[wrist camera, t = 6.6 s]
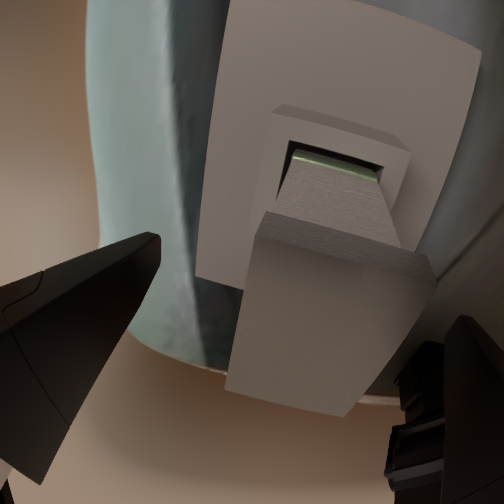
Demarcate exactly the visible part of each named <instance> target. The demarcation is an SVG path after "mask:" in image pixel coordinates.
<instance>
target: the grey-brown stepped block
mask: <svg viewBox="0 0 504 504" xmlns="http://www.w3.org/2000/svg"><path fill="white" fill-rule="evenodd" d="M437 286H438V284H437V281H436V278H435V276H434V273H433V271H432V268H431V266H430V263H429V261H428V258H427V256H424V255H421V254H418V253H415V252H411V251H408V250H405V249H402V248H401V245H400V242H399V239H398V236H397V233H396V230H395V227H394V225H393V222H392V219H391V216H390V213H389V211H388V208H387V205H386V203H385V200H384V197H383V195H382V192H381V190H380V187H379V185H378V178H377V176H376V173H375V172H373V170H371V169H368V168H365V167H361V166H358V165H355V164H351V163H348V162H345V161H341V160H338V159H334V158H331V157H327V156H323V155H320V154H316V153H312V152H308V151H304V150H300V149H296V150H295V151H294V153H293V156H292V160H291V164H290V167H289V169H288V172H287V174H286V177H285V179H284V182H283V184H282V187H281V189H280V192H279V194H278V197H277V199H276V202H275V204H274V207H273V209H272V212H269V211H265V214H264V216H263V218H262V220H261V223H260V225H259V227H258V229H257V232H256V234H255V238H254V243H253V248H252V253H251V258H250V263H249V268H248V273H247V278H246V283H245V288H244V293H243V298H242V303H241V308H240V313H239V318H238V323H237V328H236V333H235V338H234V343H233V348H232V353H231V358H230V363H229V368H228V373H227V379H226V383H225V388H224V389H225V390H228V391H232V392H235V393H239V394H242V395H246V396H250V397H254V398H257V399H261V400H265V401H269V402H273V403H277V404H281V405H285V406H290V407H295V408H299V409H304V410H308V411H313V412H318V413H323V414H329V415H334V416H339V417H345V415H346V414H347V413H348V412H349V411H350V410H351V409H352V407H353V406H354V405H355V404H356V403H357V401H358V400H359V399H360V398H361V397H362V395H363V394H364V393H365V392H366V390H367V389H368V388H369V387H370V385H371V384H372V383H373V381H374V380H375V379H376V378H377V376H378V375H379V374H380V372H381V371H382V370H383V368H384V367H385V366H386V364H387V363H388V362H389V360H390V359H391V357H392V356H393V355H394V353H395V352H396V350H397V349H398V348H399V346H400V345H401V343H402V342H403V340H404V339H405V337H406V336H407V334H408V333H409V331H410V330H411V328H412V327H413V325H414V324H415V322H416V321H417V319H418V318H419V316H420V314H421V313H422V311H423V310H424V308H425V306H426V305H427V303H428V302H429V300H430V298H431V297H432V295H433V293H434V292H435V290H436V288H437Z"/></svg>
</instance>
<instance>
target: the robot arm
mask: <svg viewBox="0 0 504 504" xmlns="http://www.w3.org/2000/svg"><path fill="white" fill-rule="evenodd" d="M160 263H161V237H160V236H159V235H158V234H155V233H151V232H144V233H141V234H138V235H135V236H133V237H130V238H127V239H124V240H121V241H119V242H116V243H113V244H110V245H108V246H105V247H102V248H100V249H97V250H94V251H92V252H89V253H86V254H84V255H81V256H78V257H76V258H73V259H70V260H68V261H65V262H63V263H60V264H58V265H55V266H53V267H50V268H48V269H45V271H40V272H38V273H35V274H33V275H30V276H28V277H25V278H23V279H20V280H18V281H15V282H12V283H9V284H6V285H3V286H1V287H0V504H14V501H13V497H12V494H11V490H10V487H9V483H8V479H7V477H8V475H9V473H10V472H11V470H12V468H15V469H16V470H17V471H19V472H20V473H22V474H23V475H25V476H26V477H28V478H29V479H31V480H32V481H34V482H35V483H37V484H38V485H41V483H42V482H43V480H44V478H45V475H46V474H47V472H48V469H49V467H50V465H51V463H52V461H53V459H54V457H55V455H56V453H57V451H58V450H59V448H60V446H61V443H62V441H63V440H64V438H65V436H66V434H67V432H68V430H69V428H70V427H69V426H71V424H72V422H73V420H74V419H75V417H76V415H77V413H78V411H79V409H80V407H81V405H82V404H83V402H84V400H85V399H86V397H87V395H88V393H89V391H90V390H91V388H92V386H93V384H94V383H95V381H96V379H97V377H98V375H99V374H100V372H101V370H102V368H103V367H104V365H105V364H106V362H107V360H108V358H109V357H110V355H111V353H112V352H113V350H114V348H115V347H116V345H117V343H118V342H119V340H120V338H121V336H122V335H123V333H124V332H125V330H126V329H127V327H128V325H129V324H130V322H131V320H132V319H133V317H134V316H135V314H136V312H137V311H138V309H139V307H140V305H141V303H142V301H143V299H144V297H145V295H146V293H147V291H148V289H149V287H150V285H151V283H152V280H153V278H154V276H155V274H156V272H157V270H158V268H159V266H160ZM394 386H395V387H399V392H400V406H401V410H402V411H403V412H405V423H406V424H403V425H396V426H393V427H392V433H391V435H390V441H389V448H388V455H387V461H386V467H385V470H384V476H385V477H386V478H387V479H388V482H389V486H390V488H391V490H392V491H393V492H395V502H394V504H504V352H503V351H502V349H501V348H500V347H499V346H498V345H497V344H496V343H495V342H494V340H493V339H492V338H491V337H490V336H489V335H488V334H487V333H486V332H485V330H484V329H483V328H482V327H481V326H480V325H479V324H478V323H477V322H476V321H475V320H474V319H473V318H472V317H471V316H467V315H460V316H458V317H457V319H456V320H455V322H454V323H453V325H452V326H451V327H450V329H449V330H448V332H447V333H446V336H445V340H444V345H443V344H438V343H434V342H425V343H423V344H422V346H421V347H420V348H419V350H418V351H417V352H416V354H415V355H414V356H413V358H412V359H411V360H410V361H409V362H408V364H407V365H406V366H405V367H404V369H403V370H402V371H401V372H400V374H399V375H398V377H397V378H396V379H395V380H394Z"/></svg>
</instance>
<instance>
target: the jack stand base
mask: <svg viewBox="0 0 504 504" xmlns="http://www.w3.org/2000/svg"><path fill="white" fill-rule="evenodd" d="M481 55H482V51H480V50H478V49H476V48H474V47H472V46H470V45H468V44H467V43H465V42H463V41H461V40H459V39H456V38H454V37H452V36H450V35H448V34H446V33H444V32H441V31H439V30H437V29H435V28H432V27H430V26H428V25H425V24H423V23H420V22H418V21H415V20H413V19H410V18H407V17H405V16H402V15H399V14H396V13H393V12H390V11H387V10H384V9H381V8H378V7H375V6H371V5H368V4H365V3H361V2H357V1H354V0H231V1H230V7H229V12H228V17H227V23H226V28H225V34H224V39H223V45H222V51H221V57H220V63H219V70H218V76H217V83H216V89H215V96H214V103H213V110H212V117H211V125H210V132H209V140H208V148H207V156H206V165H205V174H204V183H203V192H202V202H201V212H200V222H199V234H198V245H197V257H196V271H195V276H197V277H201V278H204V279H207V280H211V281H214V282H218V283H221V284H225V285H228V286H232V287H235V288H239V289H243V290H244V288H245V283H246V278H247V273H248V268H249V263H250V258H251V253H252V248H253V243H254V238H255V234H256V232H257V229H258V227H259V225H260V223H261V220H262V218H263V216H264V214H265V211H269V212H272V209H273V207H274V204H275V202H276V199H277V197H278V194H279V192H280V189H281V187H282V184H283V182H284V179H285V177H286V174H287V172H288V169H289V167H290V164H291V160H292V156H293V153H294V151H295V150H296V149H300V150H304V151H308V152H312V153H316V154H320V155H323V156H327V157H331V158H334V159H338V160H341V161H345V162H348V163H351V164H355V165H358V166H361V167H365V168H368V169H371V170H373V172H375V173H376V176H377V178H378V185H379V187H380V190H381V192H382V195H383V197H384V200H385V203H386V205H387V208H388V211H389V213H390V216H391V219H392V222H393V225H394V227H395V230H396V233H397V236H398V239H399V242H400V245H401V248H402V249H405V250H408V251H411V252H415V250H416V248H417V246H418V243H419V241H420V239H421V237H422V235H423V232H424V230H425V228H426V226H427V223H428V221H429V219H430V217H431V214H432V212H433V209H434V207H435V205H436V202H437V200H438V197H439V195H440V192H441V190H442V187H443V185H444V182H445V179H446V177H447V174H448V171H449V168H450V166H451V163H452V160H453V157H454V154H455V151H456V148H457V145H458V142H459V139H460V136H461V133H462V130H463V126H464V123H465V120H466V116H467V113H468V109H469V106H470V102H471V98H472V94H473V91H474V86H475V82H476V78H477V74H478V69H479V65H480V60H481Z"/></svg>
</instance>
